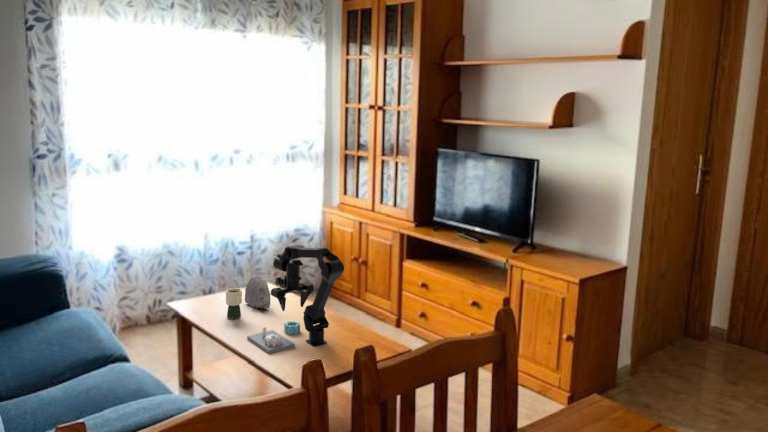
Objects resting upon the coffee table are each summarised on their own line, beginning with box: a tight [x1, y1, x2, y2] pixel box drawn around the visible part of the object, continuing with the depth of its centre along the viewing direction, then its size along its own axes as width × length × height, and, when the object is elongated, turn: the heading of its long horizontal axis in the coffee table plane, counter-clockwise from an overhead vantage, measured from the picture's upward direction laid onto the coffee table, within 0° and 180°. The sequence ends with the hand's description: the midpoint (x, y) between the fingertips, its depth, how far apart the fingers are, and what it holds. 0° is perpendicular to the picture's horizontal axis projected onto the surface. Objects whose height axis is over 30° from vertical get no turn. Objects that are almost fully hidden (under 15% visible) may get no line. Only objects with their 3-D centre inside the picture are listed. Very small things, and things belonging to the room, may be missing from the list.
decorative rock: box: [244, 275, 271, 309], centre depth 310 cm, size 16×7×15 cm, turn 39°
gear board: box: [246, 326, 296, 355], centre depth 268 cm, size 18×12×6 cm, turn 40°
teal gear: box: [283, 320, 301, 335], centre depth 282 cm, size 7×7×4 cm
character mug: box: [225, 287, 243, 319], centre depth 294 cm, size 11×7×13 cm, turn 36°
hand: (292, 308), depth 280 cm, fingers open, 9 cm apart
